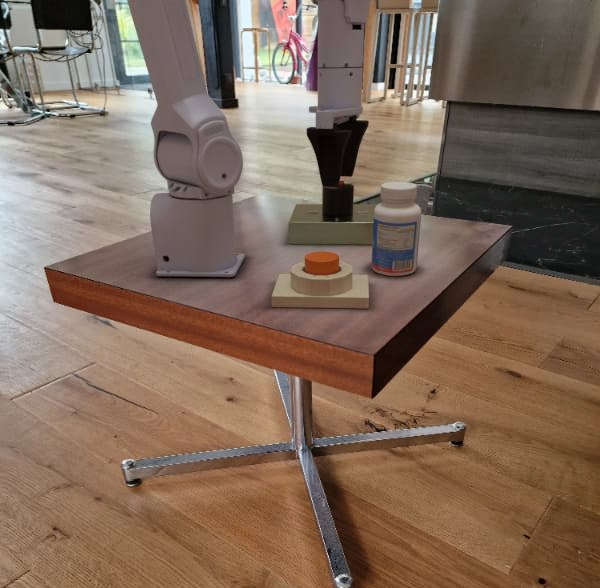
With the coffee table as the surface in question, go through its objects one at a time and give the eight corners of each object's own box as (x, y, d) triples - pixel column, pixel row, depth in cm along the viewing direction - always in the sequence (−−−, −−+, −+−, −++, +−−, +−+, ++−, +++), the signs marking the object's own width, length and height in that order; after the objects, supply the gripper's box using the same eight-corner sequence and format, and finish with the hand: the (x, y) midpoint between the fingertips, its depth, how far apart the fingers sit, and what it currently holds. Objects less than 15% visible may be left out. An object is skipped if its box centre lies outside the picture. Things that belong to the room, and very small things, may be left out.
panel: (289, 244, 79) (288, 220, 77) (296, 223, 88) (295, 202, 86) (383, 244, 78) (385, 221, 76) (380, 224, 87) (381, 203, 85)
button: (303, 277, 59) (303, 261, 58) (306, 266, 62) (305, 251, 61) (338, 278, 59) (338, 261, 58) (339, 267, 62) (339, 251, 61)
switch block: (271, 307, 59) (270, 279, 57) (279, 283, 65) (278, 258, 63) (368, 308, 58) (370, 280, 57) (367, 285, 64) (368, 258, 63)
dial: (348, 216, 79) (349, 187, 77) (318, 214, 80) (318, 185, 78) (356, 209, 82) (357, 181, 80) (327, 207, 84) (327, 179, 82)
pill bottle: (382, 260, 72) (387, 178, 67) (422, 266, 69) (431, 182, 64) (363, 272, 68) (367, 186, 63) (405, 280, 65) (413, 191, 60)
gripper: (326, 67, 79) (325, 171, 86) (291, 69, 67) (293, 189, 74) (376, 66, 77) (371, 173, 84) (349, 68, 65) (345, 192, 72)
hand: (338, 181), depth 79 cm, fingers open, 7 cm apart
